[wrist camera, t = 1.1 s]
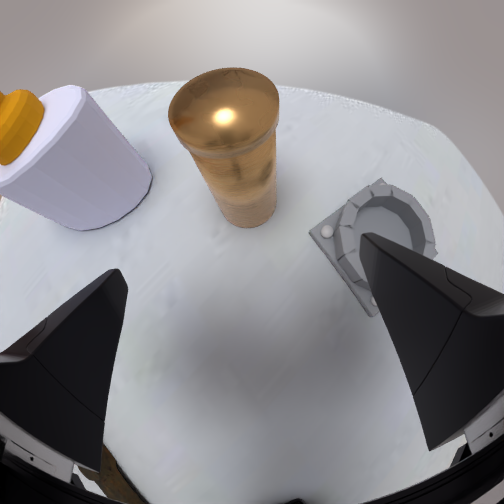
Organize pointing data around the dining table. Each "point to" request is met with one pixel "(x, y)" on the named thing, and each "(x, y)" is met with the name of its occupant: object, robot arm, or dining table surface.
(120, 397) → the dining table surface
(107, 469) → the hand tool
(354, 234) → the socket
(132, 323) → the dining table surface
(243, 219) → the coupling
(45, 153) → the soap bottle
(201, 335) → the dining table surface
